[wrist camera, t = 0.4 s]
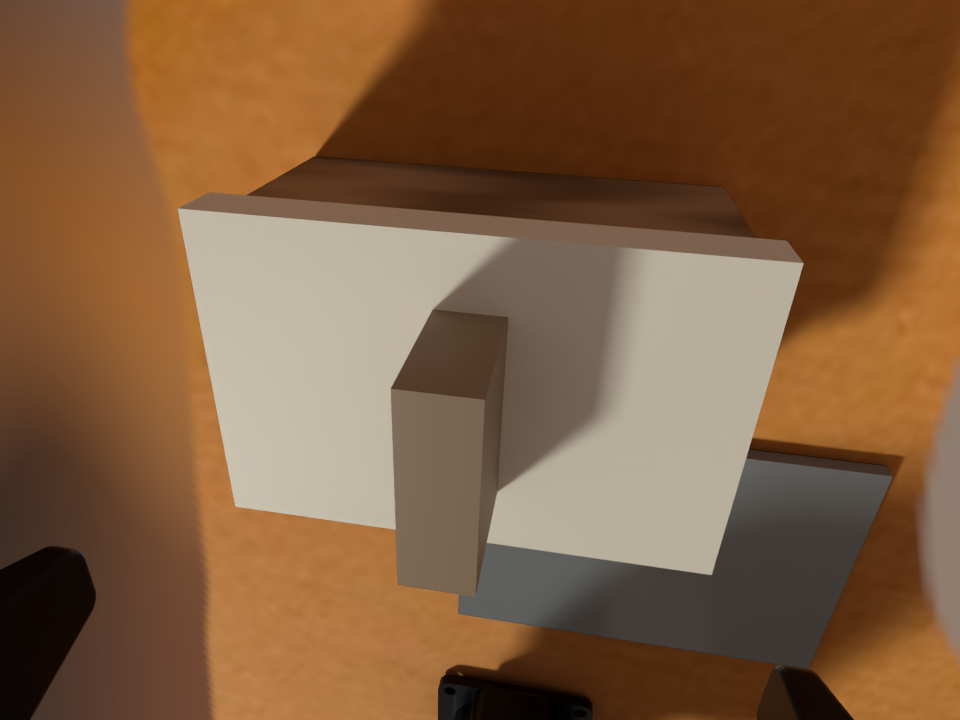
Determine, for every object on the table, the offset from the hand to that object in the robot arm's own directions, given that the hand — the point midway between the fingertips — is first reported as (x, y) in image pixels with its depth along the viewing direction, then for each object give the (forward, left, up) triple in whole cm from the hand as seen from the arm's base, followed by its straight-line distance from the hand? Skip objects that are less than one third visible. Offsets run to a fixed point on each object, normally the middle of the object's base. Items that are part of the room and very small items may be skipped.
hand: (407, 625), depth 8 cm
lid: (-1, 0, -7) cm, 7 cm away
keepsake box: (-1, 0, -12) cm, 12 cm away
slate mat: (-10, -5, -12) cm, 16 cm away
